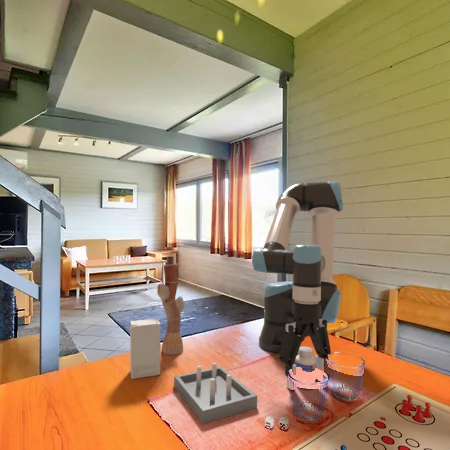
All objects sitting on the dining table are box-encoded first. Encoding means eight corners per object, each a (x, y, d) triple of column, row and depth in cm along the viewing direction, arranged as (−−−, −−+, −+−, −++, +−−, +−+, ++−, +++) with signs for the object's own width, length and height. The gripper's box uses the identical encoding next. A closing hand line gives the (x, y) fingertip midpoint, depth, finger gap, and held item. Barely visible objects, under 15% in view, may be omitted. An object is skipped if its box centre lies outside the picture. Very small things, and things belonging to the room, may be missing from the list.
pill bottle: (316, 391, 80) (317, 353, 81) (295, 389, 81) (295, 351, 82) (314, 382, 86) (315, 346, 86) (294, 379, 87) (295, 344, 87)
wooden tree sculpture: (180, 345, 111) (182, 262, 112) (188, 352, 105) (190, 264, 106) (151, 350, 106) (154, 262, 107) (157, 357, 100) (160, 264, 101)
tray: (173, 386, 81) (174, 362, 81) (220, 375, 88) (221, 353, 88) (202, 423, 65) (203, 394, 66) (257, 407, 72) (257, 380, 72)
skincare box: (157, 367, 93) (159, 317, 93) (160, 376, 87) (162, 323, 87) (128, 371, 90) (130, 319, 90) (129, 380, 84) (131, 325, 85)
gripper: (284, 307, 76) (282, 400, 75) (345, 300, 86) (344, 382, 85) (265, 301, 82) (264, 387, 81) (324, 295, 93) (323, 371, 92)
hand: (305, 384), depth 83 cm, fingers open, 9 cm apart
